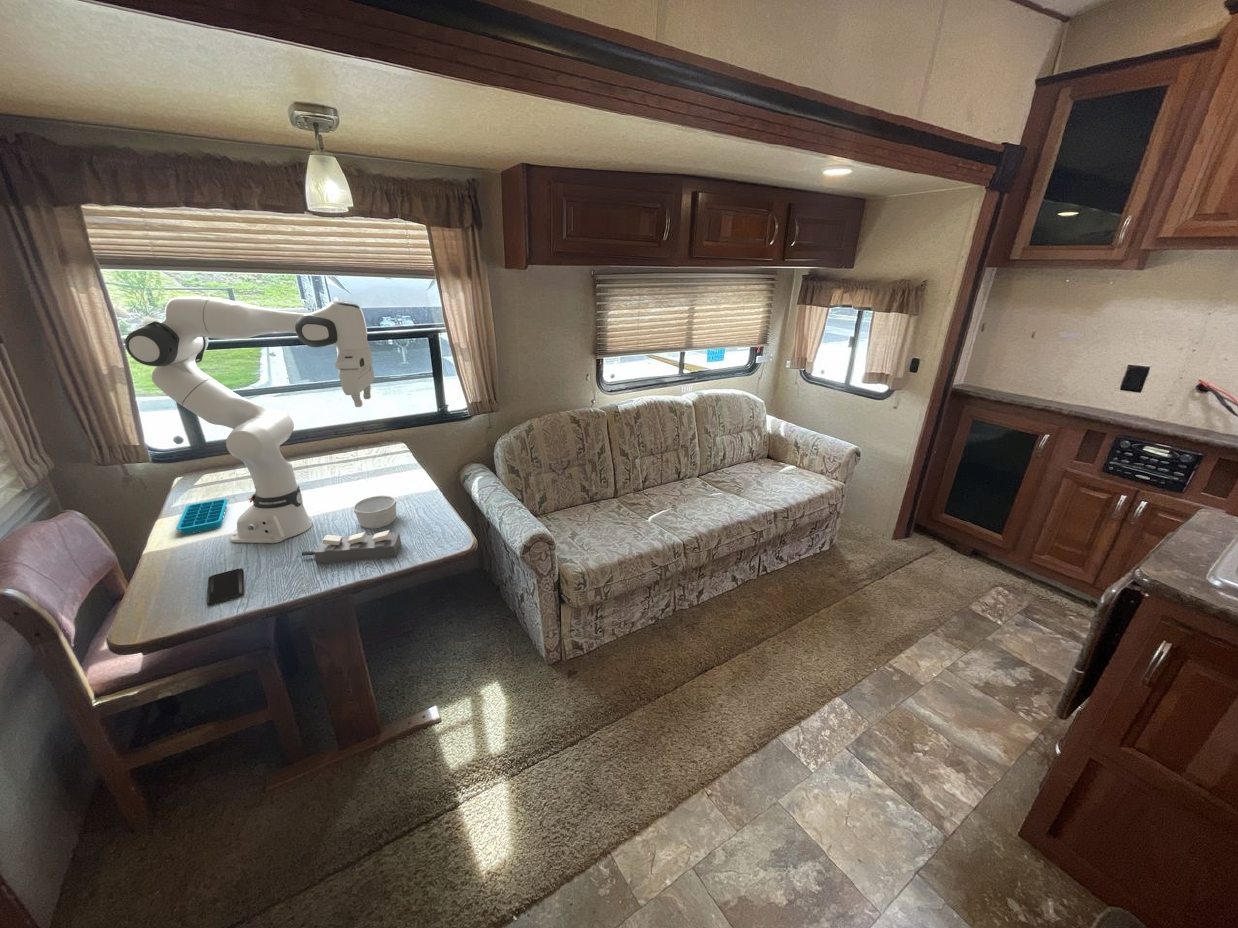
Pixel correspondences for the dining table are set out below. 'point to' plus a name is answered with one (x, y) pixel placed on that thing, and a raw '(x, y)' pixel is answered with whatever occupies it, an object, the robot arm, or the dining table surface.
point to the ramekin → (375, 511)
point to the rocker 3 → (381, 536)
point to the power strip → (357, 550)
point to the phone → (225, 586)
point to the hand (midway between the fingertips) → (363, 402)
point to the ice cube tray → (202, 516)
